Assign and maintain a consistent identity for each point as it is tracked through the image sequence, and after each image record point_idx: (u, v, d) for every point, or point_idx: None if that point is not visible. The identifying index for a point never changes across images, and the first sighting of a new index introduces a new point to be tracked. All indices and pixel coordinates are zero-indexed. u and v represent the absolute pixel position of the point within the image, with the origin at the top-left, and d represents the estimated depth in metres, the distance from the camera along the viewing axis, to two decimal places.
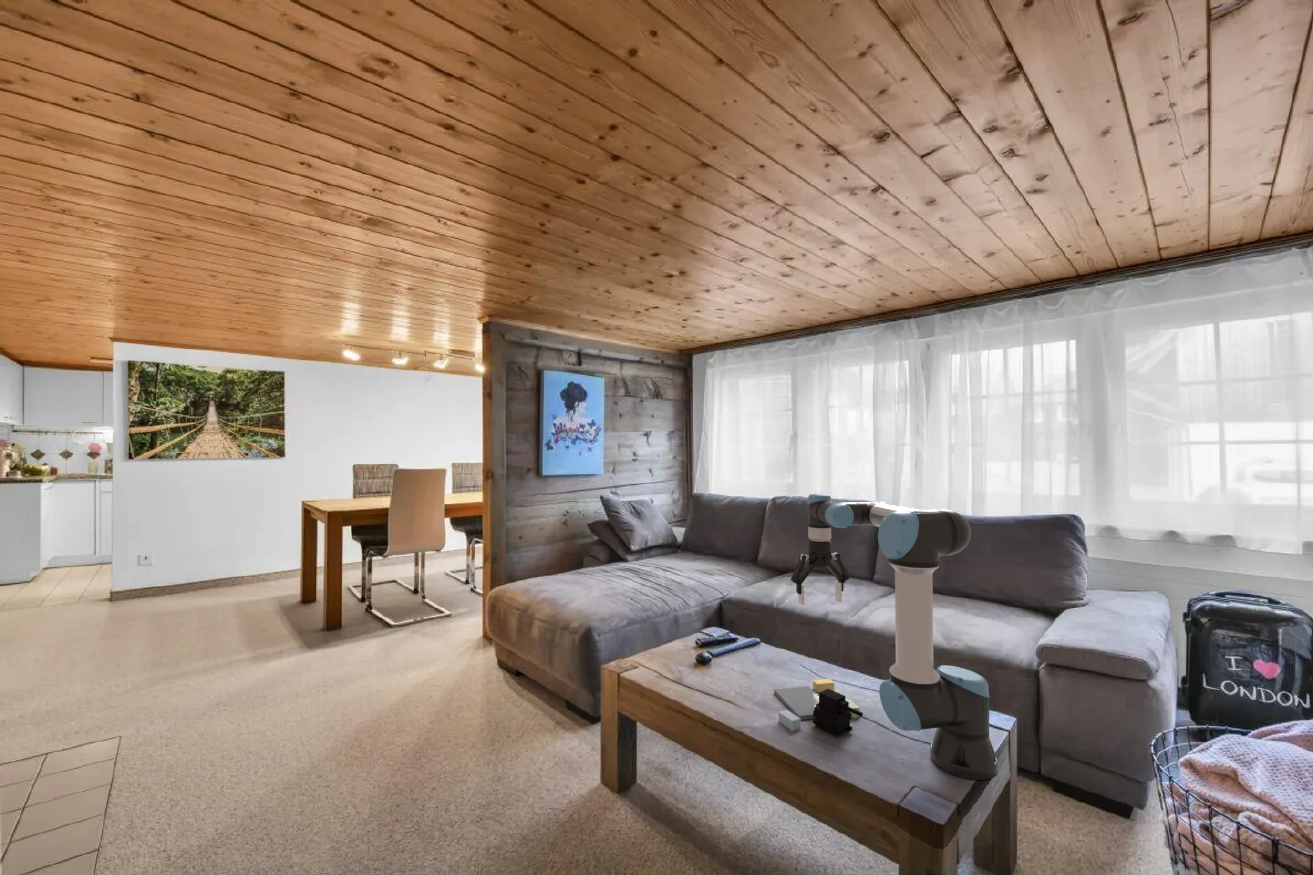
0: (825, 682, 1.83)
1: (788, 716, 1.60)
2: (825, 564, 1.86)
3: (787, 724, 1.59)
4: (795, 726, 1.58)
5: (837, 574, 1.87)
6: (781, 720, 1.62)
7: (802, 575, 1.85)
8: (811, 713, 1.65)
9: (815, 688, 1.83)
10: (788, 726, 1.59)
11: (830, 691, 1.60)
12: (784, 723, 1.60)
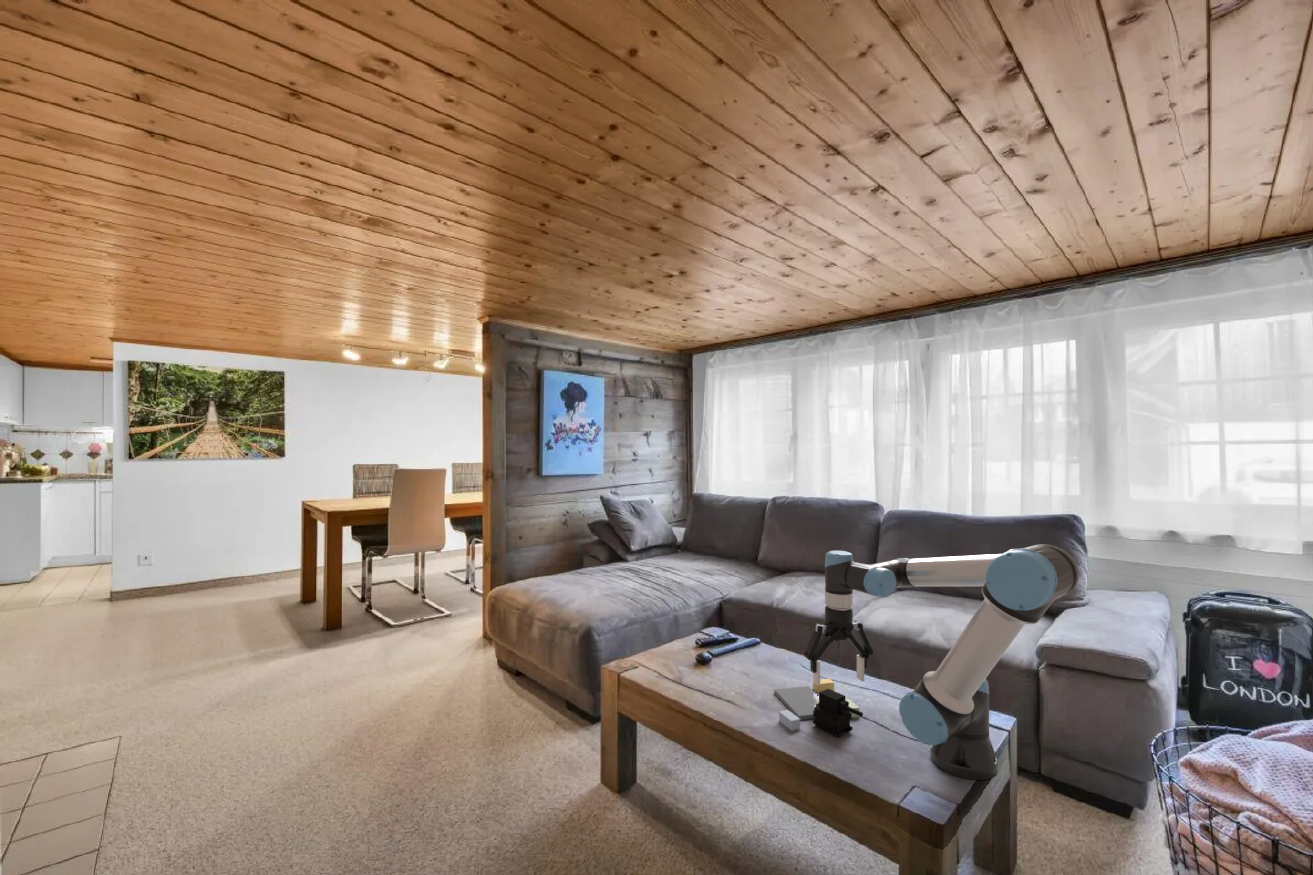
0: (825, 682, 1.83)
1: (788, 716, 1.60)
2: (845, 636, 1.56)
3: (787, 724, 1.59)
4: (795, 727, 1.58)
5: (859, 648, 1.57)
6: (781, 719, 1.62)
7: (818, 650, 1.55)
8: (811, 713, 1.65)
9: (815, 688, 1.83)
10: (788, 726, 1.59)
11: (830, 691, 1.60)
12: (784, 723, 1.60)
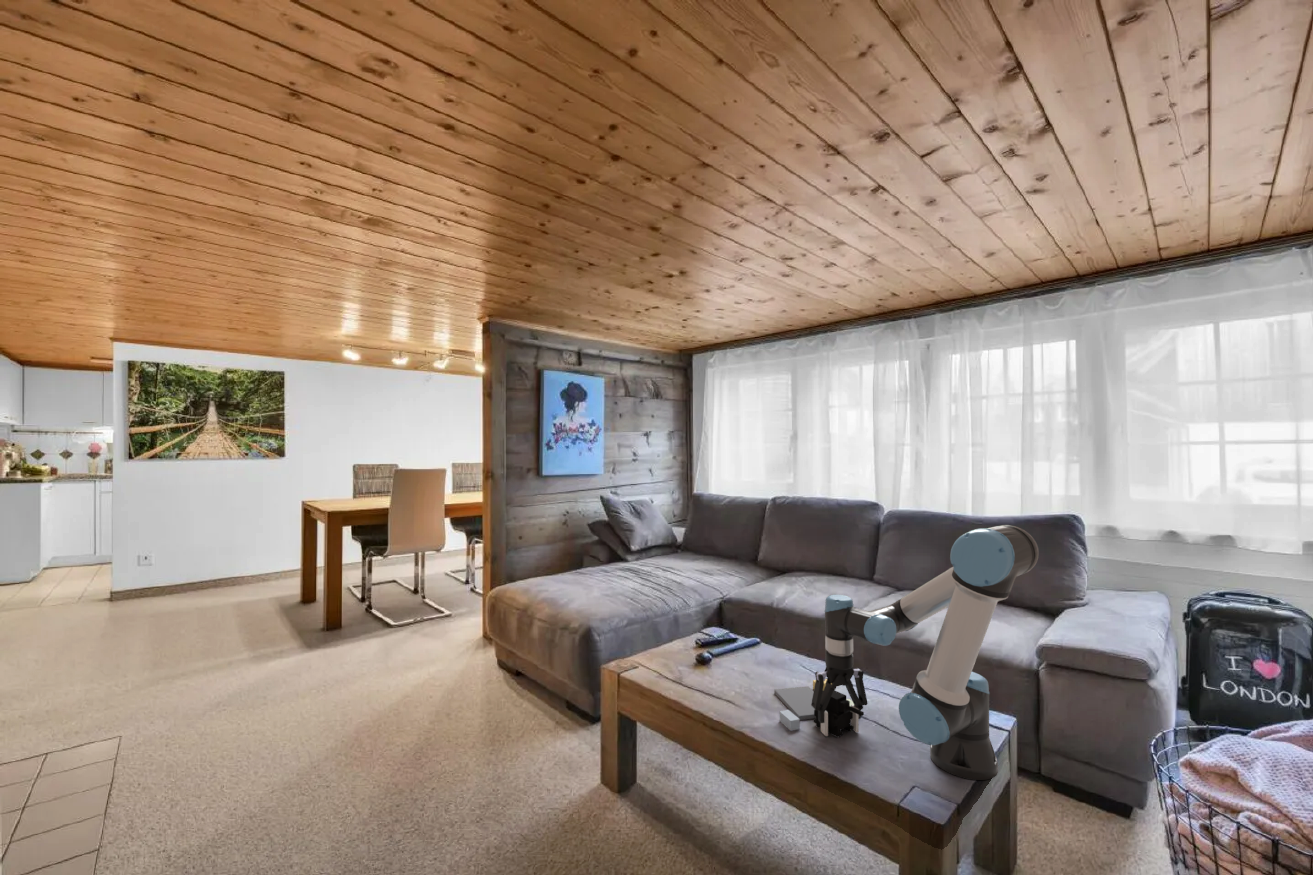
0: (825, 682, 1.83)
1: (787, 716, 1.60)
2: (846, 682, 1.56)
3: (786, 724, 1.59)
4: (794, 727, 1.58)
5: (855, 697, 1.56)
6: (781, 719, 1.62)
7: (823, 699, 1.55)
8: (811, 713, 1.65)
9: None
10: (787, 726, 1.59)
11: None
12: (784, 723, 1.60)
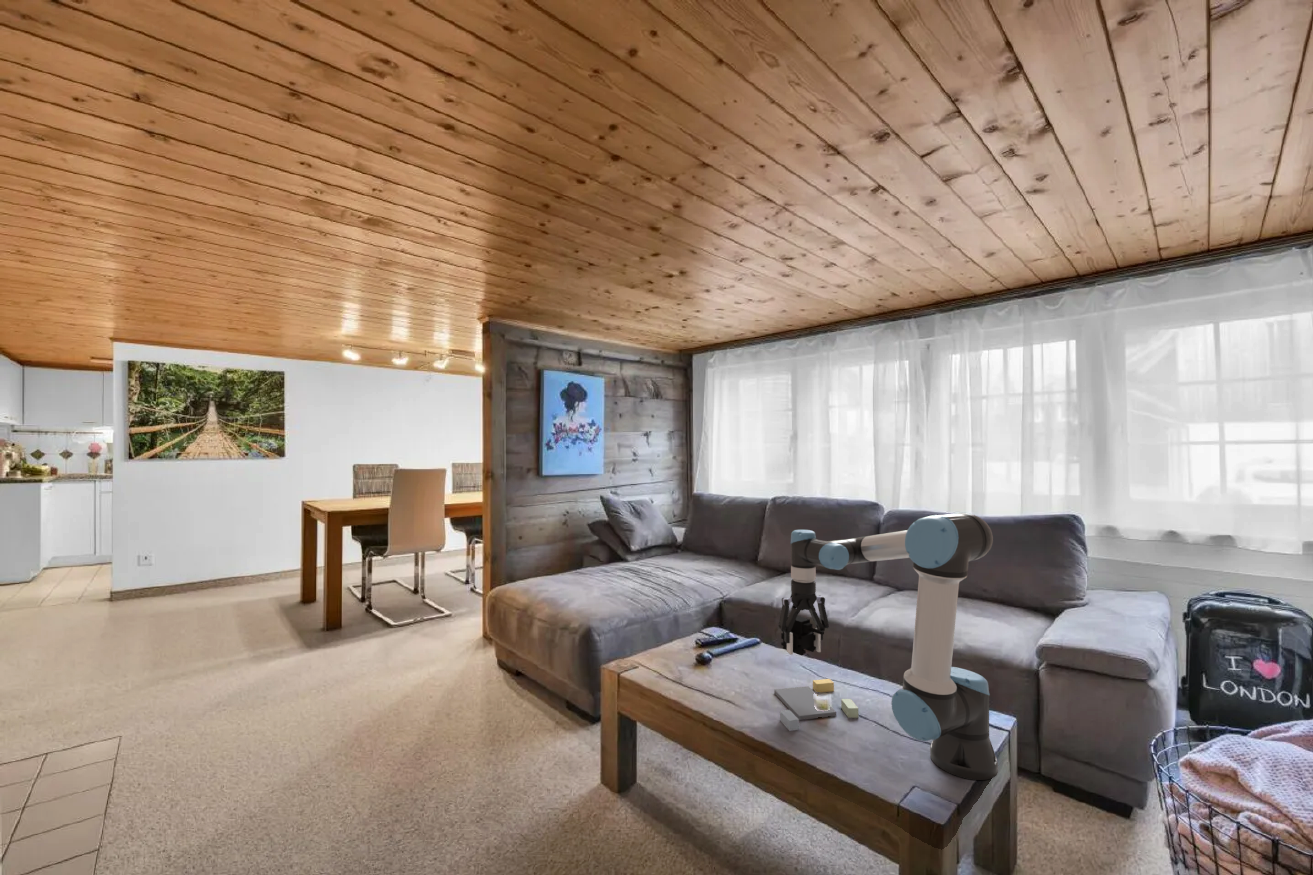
0: (825, 682, 1.83)
1: (787, 716, 1.60)
2: (809, 606, 1.73)
3: (786, 724, 1.59)
4: (793, 727, 1.58)
5: (817, 621, 1.73)
6: (781, 719, 1.62)
7: (789, 622, 1.72)
8: (811, 713, 1.65)
9: (815, 688, 1.83)
10: (786, 726, 1.59)
11: (797, 616, 1.78)
12: (784, 722, 1.61)
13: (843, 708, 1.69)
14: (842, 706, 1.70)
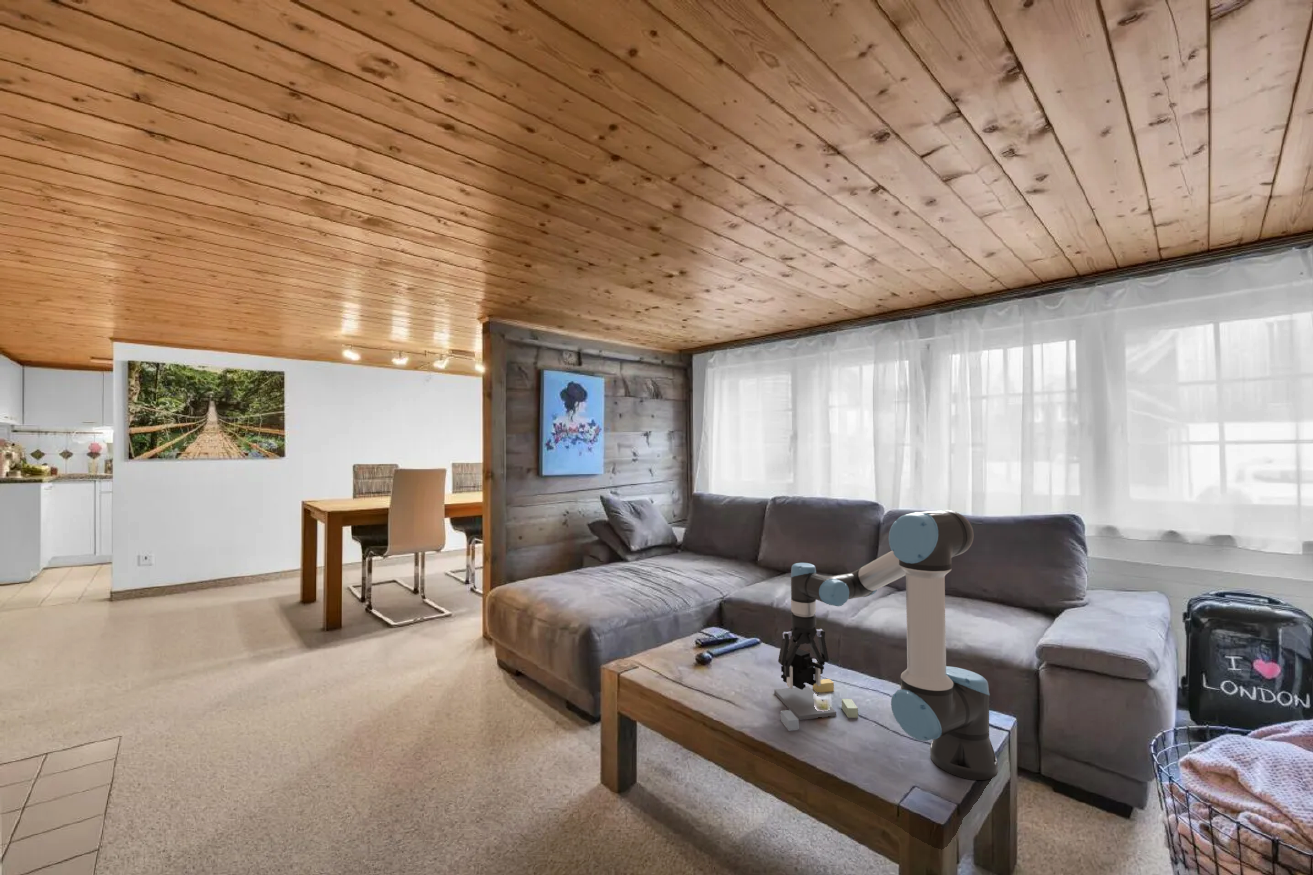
0: (825, 682, 1.83)
1: (787, 716, 1.60)
2: (809, 640, 1.73)
3: (785, 723, 1.59)
4: (793, 727, 1.58)
5: (817, 654, 1.73)
6: (782, 719, 1.62)
7: (789, 656, 1.72)
8: (811, 713, 1.65)
9: (815, 688, 1.83)
10: (786, 726, 1.59)
11: (797, 649, 1.78)
12: (784, 722, 1.61)
13: (843, 708, 1.69)
14: (842, 706, 1.70)
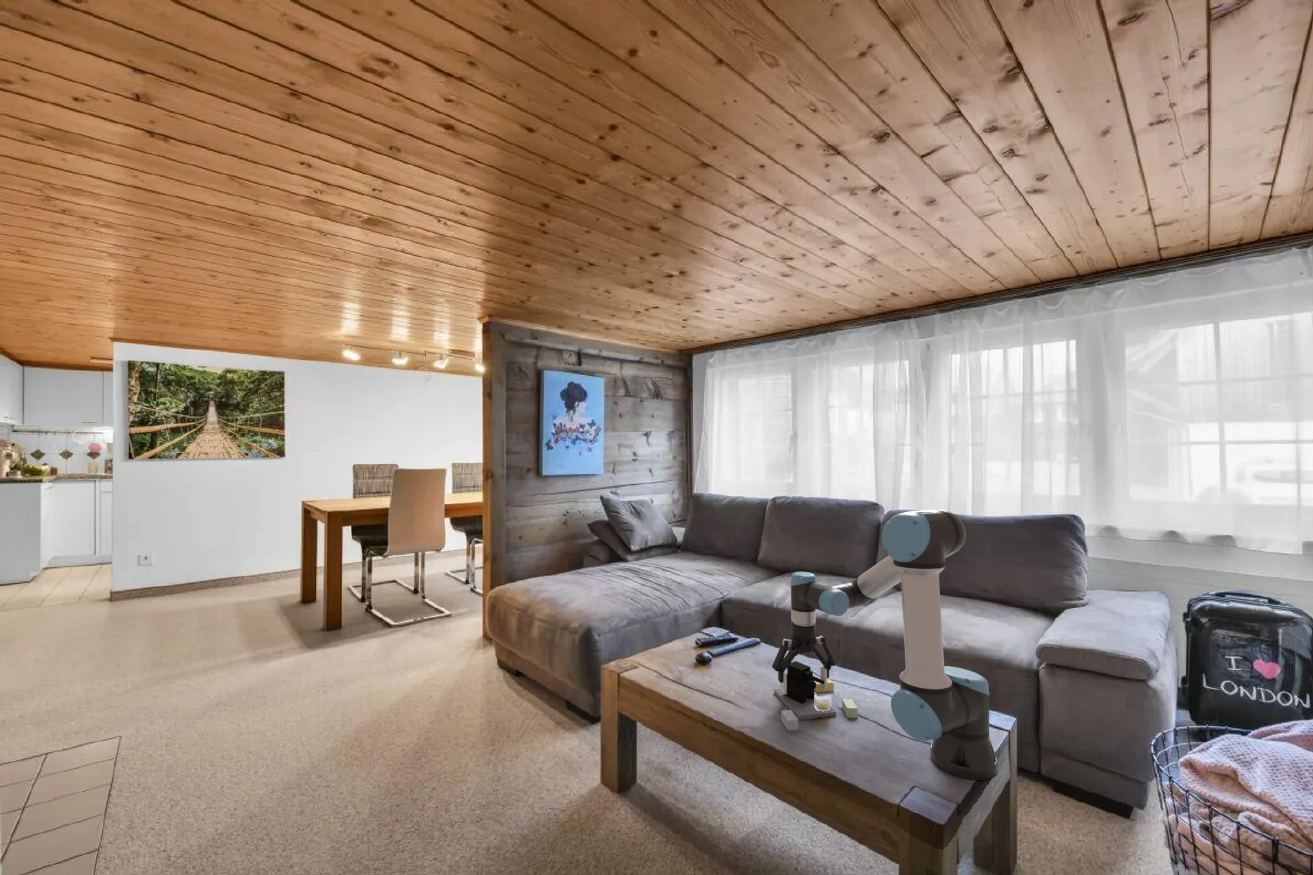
0: None
1: (787, 716, 1.60)
2: (809, 649, 1.73)
3: (785, 723, 1.60)
4: (792, 727, 1.58)
5: (822, 660, 1.74)
6: (782, 719, 1.62)
7: (784, 662, 1.72)
8: (811, 713, 1.65)
9: (814, 688, 1.83)
10: (786, 725, 1.59)
11: (797, 663, 1.77)
12: (784, 722, 1.61)
13: (843, 708, 1.69)
14: (842, 706, 1.70)
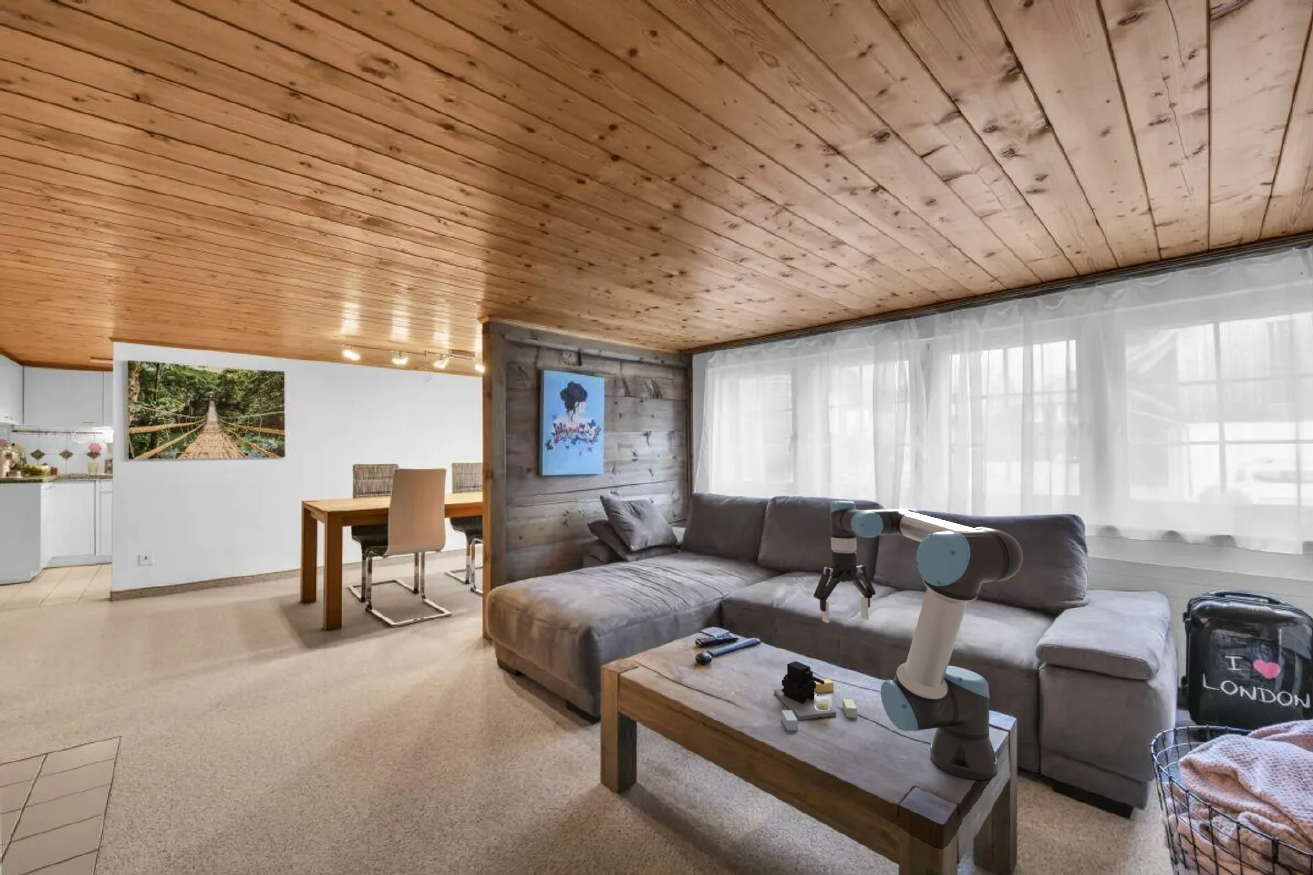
0: (824, 682, 1.83)
1: (786, 716, 1.60)
2: (850, 578, 1.71)
3: (785, 723, 1.60)
4: (791, 727, 1.58)
5: (863, 589, 1.72)
6: (782, 718, 1.62)
7: (826, 590, 1.69)
8: (811, 713, 1.65)
9: (814, 688, 1.83)
10: (785, 725, 1.59)
11: (797, 663, 1.77)
12: (784, 722, 1.61)
13: (843, 708, 1.69)
14: (843, 706, 1.70)
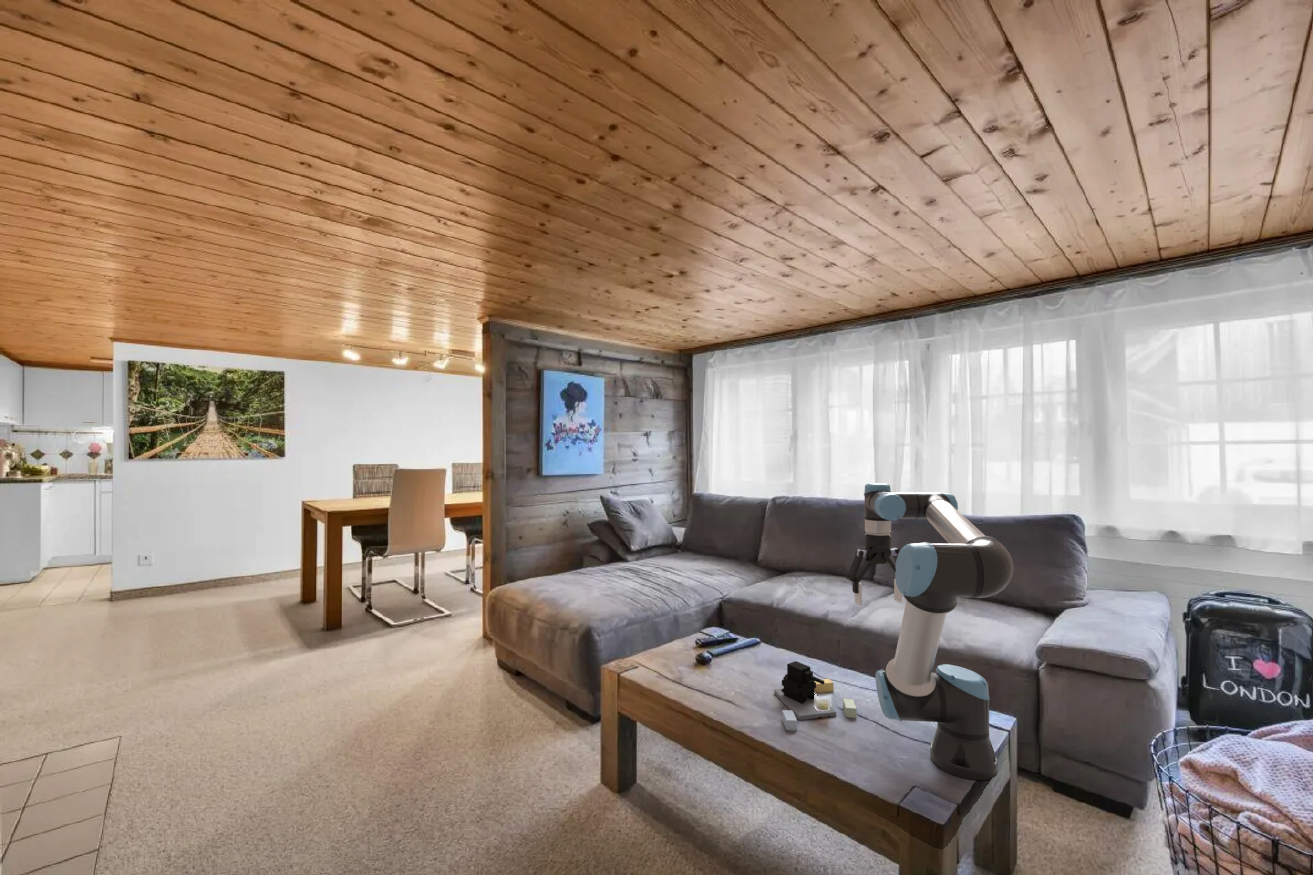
0: (824, 682, 1.83)
1: (786, 716, 1.60)
2: (884, 560, 1.70)
3: (785, 723, 1.60)
4: (791, 727, 1.58)
5: None
6: (783, 718, 1.62)
7: (859, 572, 1.69)
8: (811, 713, 1.65)
9: (814, 688, 1.83)
10: (785, 725, 1.59)
11: (797, 663, 1.77)
12: (784, 722, 1.61)
13: (843, 708, 1.69)
14: (843, 706, 1.70)
